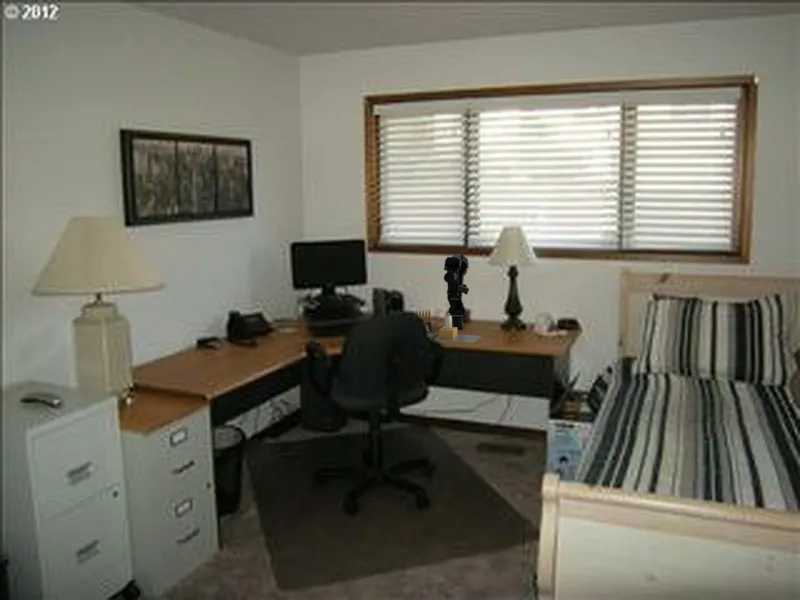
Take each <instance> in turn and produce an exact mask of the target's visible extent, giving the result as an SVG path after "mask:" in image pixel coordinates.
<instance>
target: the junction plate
mask: <svg viewBox="0 0 800 600" xmlns="http://www.w3.org/2000/svg"><path fill="white" fill-rule="evenodd" d="M438 333H439V334H438V335H437V336H435V337H434V338H433V339H436V340H435V341H440V342H441V341H442V342H456V343H468V344H469V343H470V344H474V343H475V342H476V341H478V340H479V339H480V338H481V337H482V335H471V334H459V333H458V329H457V327H452V330H447V329H445V326H443V327H440V328H439V329H438Z"/></svg>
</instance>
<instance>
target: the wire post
mask: <svg viewBox="0 0 800 600" xmlns="http://www.w3.org/2000/svg"><path fill="white" fill-rule="evenodd" d="M452 326H453V317H452V316H450V314H449V312H446V315H444V327H445V329H447V330H452Z"/></svg>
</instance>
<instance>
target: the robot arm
mask: <svg viewBox="0 0 800 600" xmlns="http://www.w3.org/2000/svg"><path fill="white" fill-rule="evenodd" d="M443 268H444V269H443V271H446V273H445V274H444V276H443V281H444V282H445V283H446V284H447V290H446V299H447V302H448V304H449V307H448V313H449V314H450V316H452V327H457V330H463V329H464V328H466V326H465V325H464V319H465V318H467V309H466V307H465V305H464V303H463V294H464V295H469V294H468V293H469V290H470V287H468V285H467V284H465V283H464V281H465V279H464V278H465V276H466V275H467V273H468V269H469V259H468V258H467V256H465V255H464V253H462V252H455V253H453V255H452V256H447V257H446V258H445V260H444V267H443Z"/></svg>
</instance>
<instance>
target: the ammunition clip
mask: <svg viewBox="0 0 800 600" xmlns="http://www.w3.org/2000/svg"><path fill="white" fill-rule="evenodd" d="M427 310H428V311H427ZM412 312H414V313H415V315H416V314H418V317H419V316H420V317H421V318H422V319H423V320H424V321H425V323H426V324H427V327H428V329H429V330H430V331H429V332H432V331H433V329H432V316H431V309H425V311H424V309H422V310H419V311H418V310H413V311H412Z"/></svg>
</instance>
